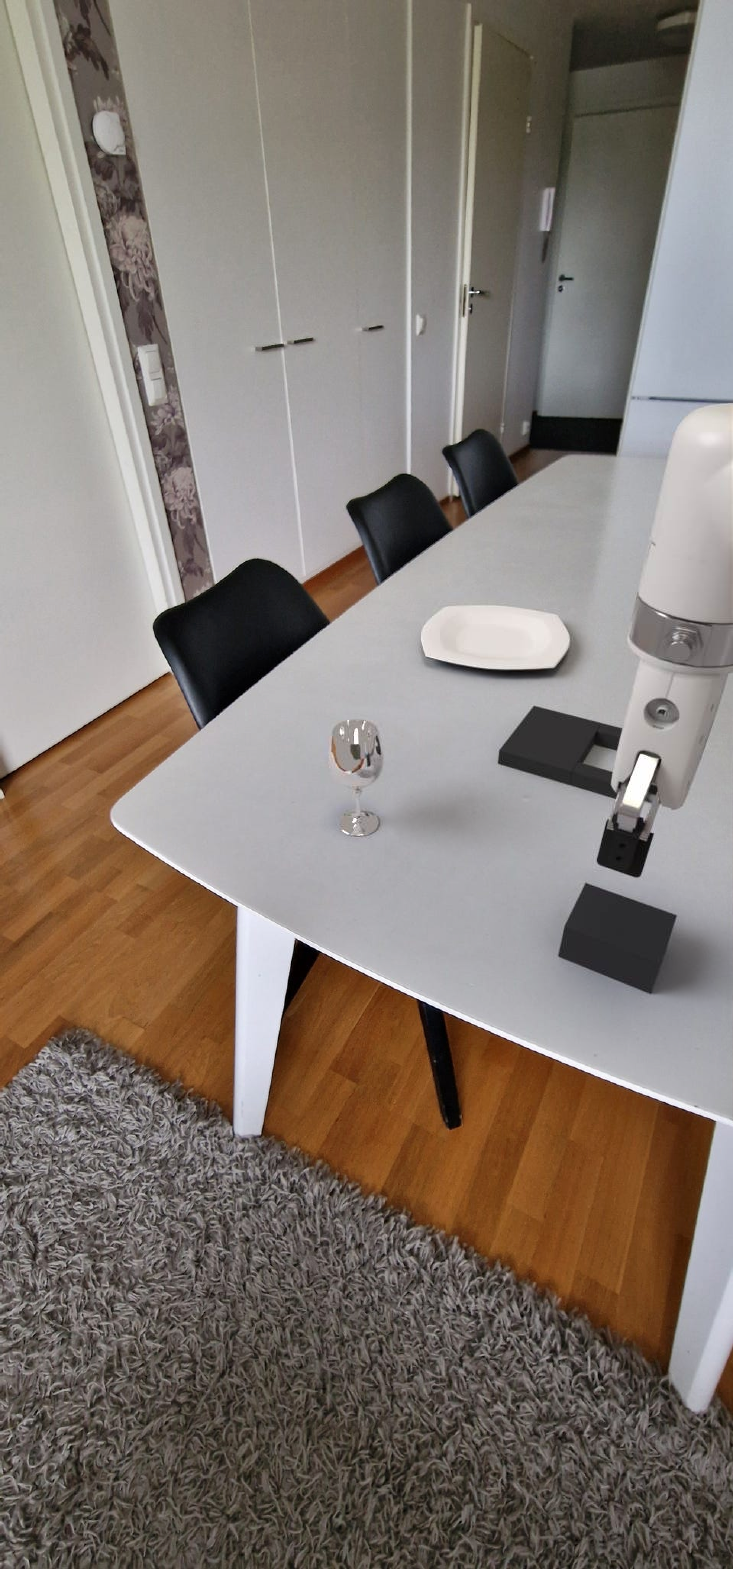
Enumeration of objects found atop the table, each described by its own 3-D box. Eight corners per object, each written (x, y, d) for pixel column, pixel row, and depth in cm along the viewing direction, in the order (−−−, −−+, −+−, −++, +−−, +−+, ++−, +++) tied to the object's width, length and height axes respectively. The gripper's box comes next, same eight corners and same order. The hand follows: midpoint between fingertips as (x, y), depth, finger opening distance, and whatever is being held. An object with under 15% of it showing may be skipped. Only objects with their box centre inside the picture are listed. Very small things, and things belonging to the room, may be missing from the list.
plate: (567, 687, 101) (569, 674, 99) (408, 672, 105) (408, 660, 104) (569, 621, 118) (570, 610, 117) (433, 611, 123) (433, 600, 122)
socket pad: (654, 750, 87) (658, 737, 86) (630, 803, 79) (633, 789, 78) (532, 718, 94) (533, 705, 93) (497, 763, 86) (499, 750, 85)
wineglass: (322, 830, 77) (315, 738, 69) (348, 801, 81) (343, 711, 73) (369, 846, 74) (367, 753, 67) (393, 815, 78) (393, 724, 71)
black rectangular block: (666, 945, 63) (677, 914, 61) (650, 994, 59) (661, 963, 57) (578, 912, 66) (585, 882, 64) (557, 956, 62) (564, 925, 60)
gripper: (736, 703, 37) (659, 922, 47) (774, 591, 49) (706, 786, 59) (594, 670, 40) (551, 883, 50) (662, 572, 52) (616, 761, 62)
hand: (635, 830), depth 55 cm, fingers open, 9 cm apart
